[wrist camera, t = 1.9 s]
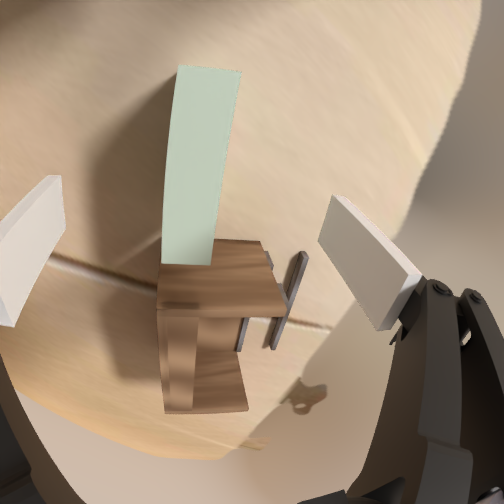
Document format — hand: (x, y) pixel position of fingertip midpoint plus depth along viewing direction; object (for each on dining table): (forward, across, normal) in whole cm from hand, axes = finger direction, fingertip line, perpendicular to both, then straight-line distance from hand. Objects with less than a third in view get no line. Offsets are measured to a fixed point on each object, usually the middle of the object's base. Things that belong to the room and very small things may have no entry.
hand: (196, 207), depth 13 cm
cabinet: (+14, +6, -19) cm, 24 cm away
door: (+13, 0, 0) cm, 13 cm away
